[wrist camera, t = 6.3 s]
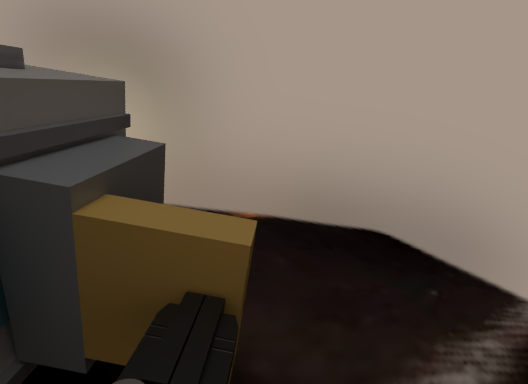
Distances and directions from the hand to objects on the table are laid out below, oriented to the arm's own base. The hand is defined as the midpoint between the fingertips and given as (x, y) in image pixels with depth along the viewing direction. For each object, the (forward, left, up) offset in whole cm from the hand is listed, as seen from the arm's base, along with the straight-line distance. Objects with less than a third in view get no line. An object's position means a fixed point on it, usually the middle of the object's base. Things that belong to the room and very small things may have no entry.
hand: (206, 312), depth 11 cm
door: (-5, +2, -5) cm, 7 cm away
